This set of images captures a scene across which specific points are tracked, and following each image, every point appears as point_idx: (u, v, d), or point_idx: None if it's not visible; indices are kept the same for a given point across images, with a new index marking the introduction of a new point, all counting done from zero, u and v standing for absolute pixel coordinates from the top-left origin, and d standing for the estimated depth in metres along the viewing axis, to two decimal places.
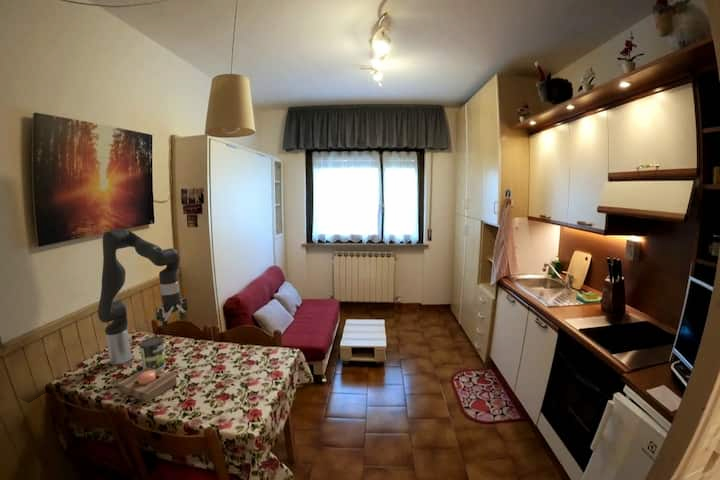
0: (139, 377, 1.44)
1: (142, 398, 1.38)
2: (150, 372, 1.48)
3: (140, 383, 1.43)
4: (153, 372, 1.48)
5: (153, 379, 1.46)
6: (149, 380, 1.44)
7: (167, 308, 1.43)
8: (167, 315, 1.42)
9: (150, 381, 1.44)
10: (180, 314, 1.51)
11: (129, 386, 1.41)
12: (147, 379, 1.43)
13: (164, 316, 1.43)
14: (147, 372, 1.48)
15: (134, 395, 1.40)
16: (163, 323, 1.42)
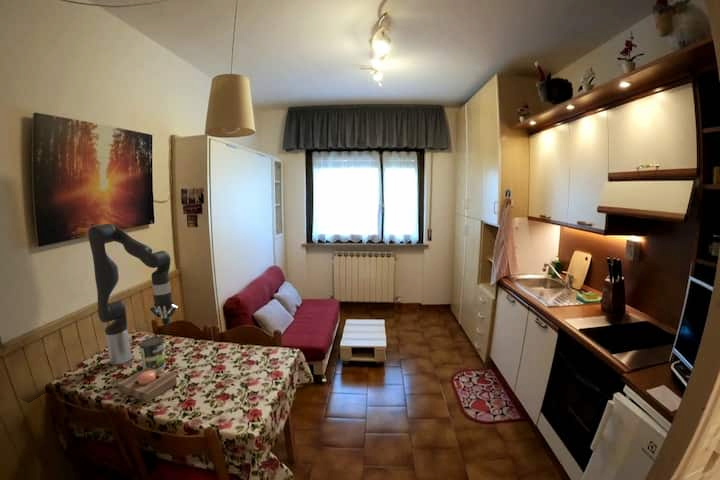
0: (139, 377, 1.44)
1: (142, 398, 1.38)
2: (150, 372, 1.48)
3: (140, 383, 1.43)
4: (153, 372, 1.48)
5: (153, 379, 1.46)
6: (149, 380, 1.44)
7: None
8: (169, 311, 1.56)
9: (150, 381, 1.44)
10: None
11: (129, 386, 1.41)
12: (147, 379, 1.43)
13: None
14: (147, 372, 1.48)
15: (134, 395, 1.40)
16: (168, 319, 1.55)
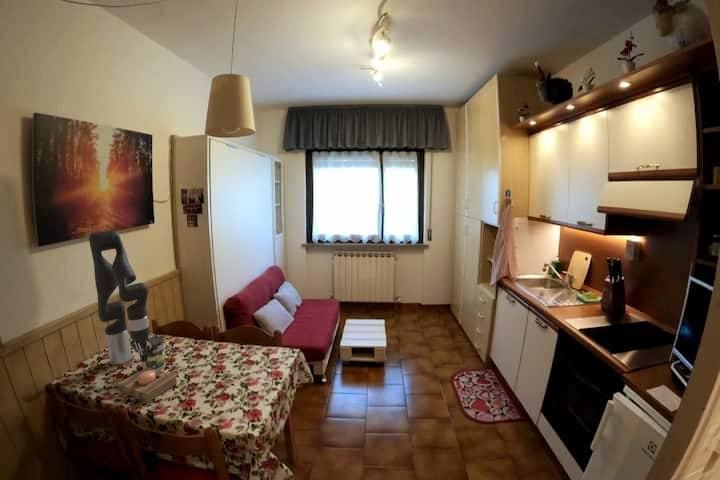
0: (139, 377, 1.44)
1: (142, 398, 1.38)
2: (150, 372, 1.48)
3: (140, 383, 1.43)
4: (153, 372, 1.48)
5: (153, 379, 1.46)
6: (149, 380, 1.44)
7: None
8: None
9: (150, 381, 1.44)
10: None
11: (129, 386, 1.41)
12: (147, 379, 1.43)
13: None
14: (147, 372, 1.48)
15: (134, 395, 1.40)
16: (145, 356, 1.43)
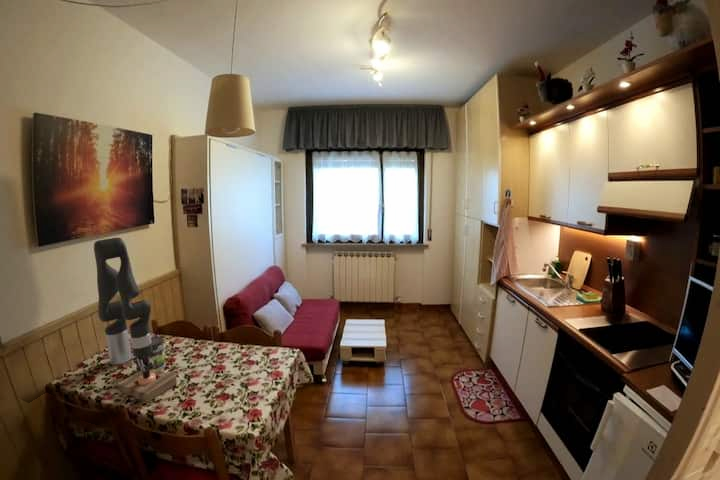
0: (139, 379, 1.44)
1: (142, 398, 1.38)
2: (150, 374, 1.48)
3: (140, 385, 1.43)
4: (153, 374, 1.48)
5: None
6: (150, 382, 1.44)
7: None
8: None
9: None
10: None
11: (129, 386, 1.41)
12: (147, 381, 1.43)
13: None
14: None
15: (134, 395, 1.40)
16: (148, 372, 1.45)
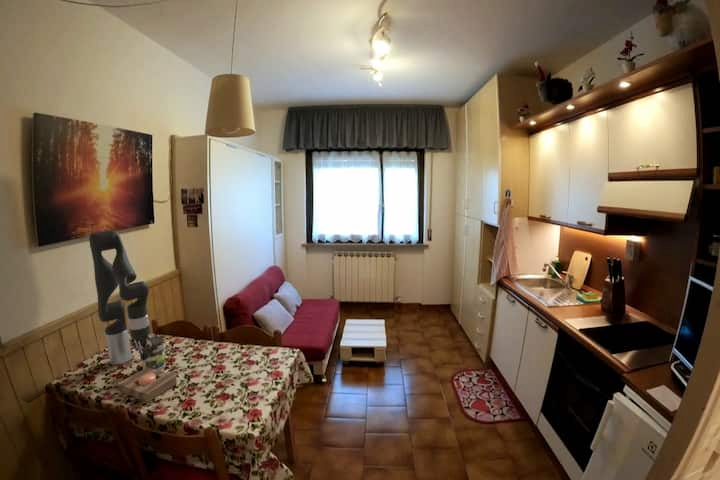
0: (139, 380, 1.44)
1: (142, 398, 1.38)
2: (150, 375, 1.48)
3: None
4: (153, 375, 1.48)
5: None
6: None
7: None
8: None
9: None
10: None
11: (129, 386, 1.41)
12: (147, 382, 1.44)
13: None
14: (147, 375, 1.48)
15: (134, 395, 1.40)
16: (145, 354, 1.43)
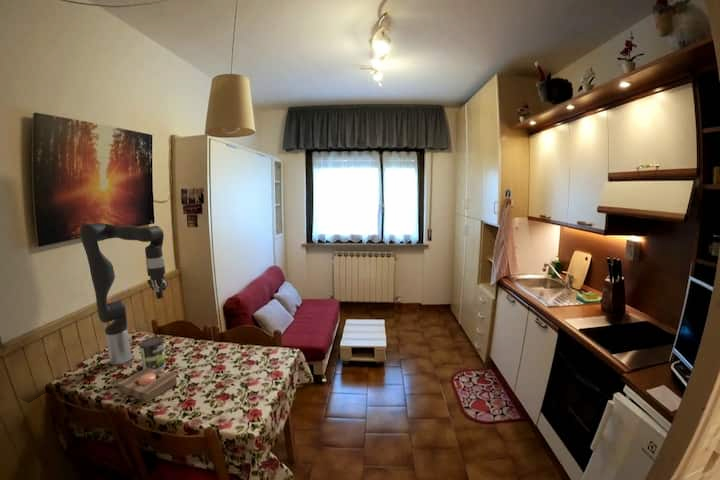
0: (139, 380, 1.44)
1: (142, 398, 1.38)
2: (150, 375, 1.48)
3: None
4: (153, 375, 1.48)
5: None
6: None
7: None
8: None
9: None
10: None
11: (129, 386, 1.41)
12: (147, 382, 1.44)
13: None
14: (147, 375, 1.48)
15: (134, 395, 1.40)
16: (161, 293, 1.59)
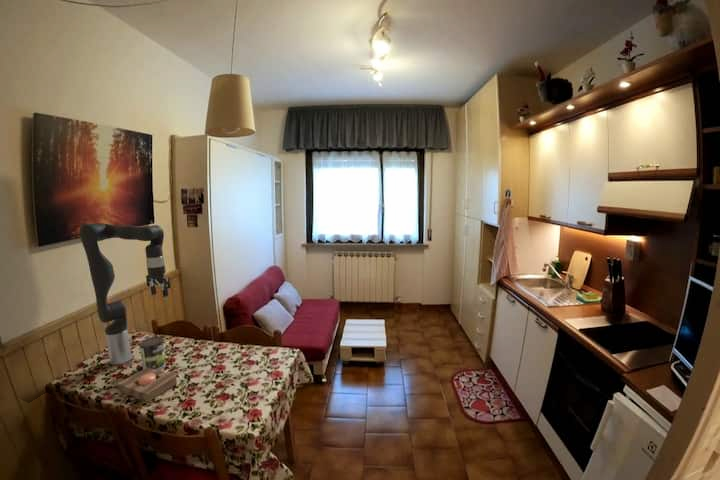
0: (139, 380, 1.44)
1: (142, 398, 1.38)
2: (150, 375, 1.48)
3: None
4: (153, 375, 1.48)
5: None
6: None
7: None
8: None
9: None
10: (153, 289, 1.60)
11: (129, 386, 1.41)
12: (147, 382, 1.44)
13: None
14: (147, 375, 1.48)
15: (134, 395, 1.40)
16: (166, 291, 1.57)
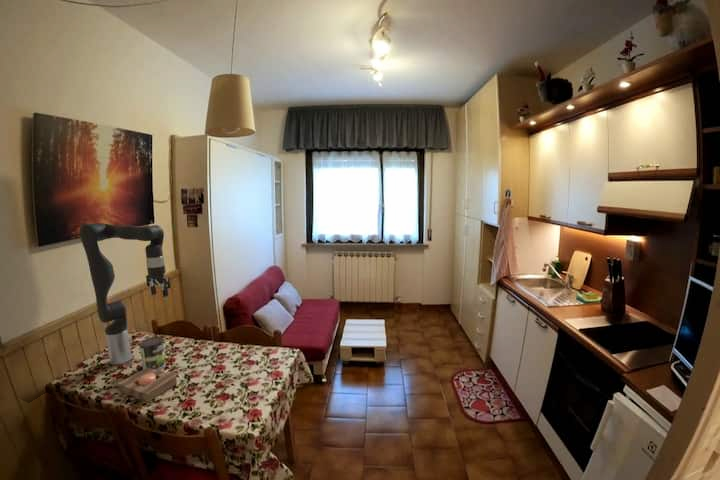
0: (139, 380, 1.44)
1: (142, 398, 1.38)
2: (150, 375, 1.48)
3: None
4: (153, 375, 1.48)
5: None
6: None
7: None
8: None
9: None
10: (153, 289, 1.60)
11: (129, 386, 1.41)
12: (147, 382, 1.44)
13: None
14: (147, 375, 1.48)
15: (134, 395, 1.40)
16: (166, 291, 1.57)
